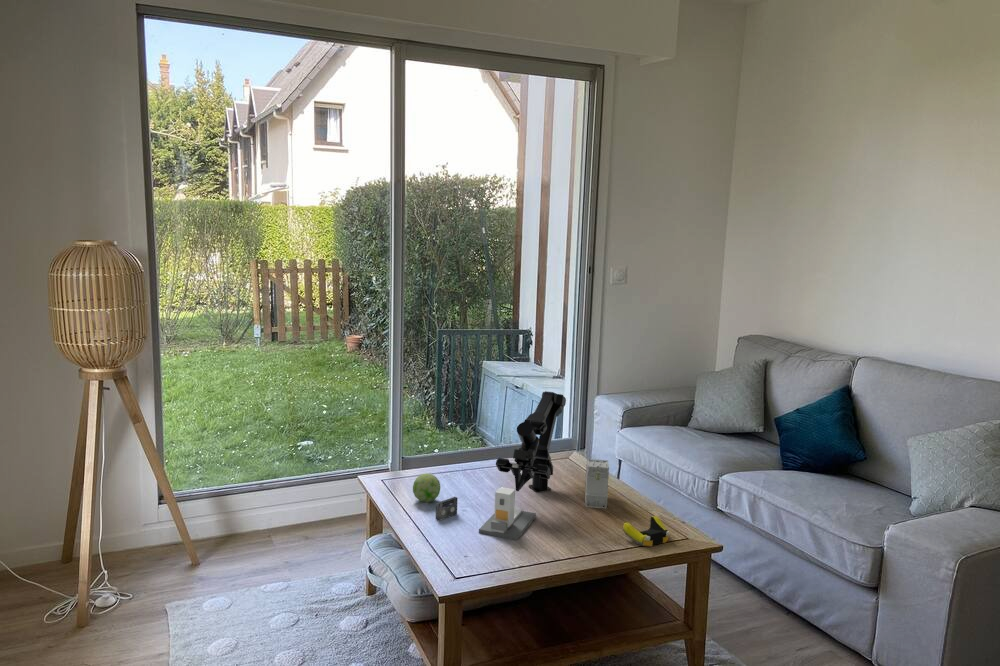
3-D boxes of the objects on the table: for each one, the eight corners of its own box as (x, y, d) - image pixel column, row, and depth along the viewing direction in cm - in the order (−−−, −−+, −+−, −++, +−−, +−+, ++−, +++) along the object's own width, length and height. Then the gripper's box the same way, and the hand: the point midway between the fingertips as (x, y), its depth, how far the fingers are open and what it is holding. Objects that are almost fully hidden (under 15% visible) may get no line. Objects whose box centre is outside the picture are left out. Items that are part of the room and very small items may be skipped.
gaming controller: (619, 538, 231) (640, 551, 223) (620, 522, 230) (641, 534, 222) (654, 529, 239) (675, 541, 230) (655, 513, 238) (677, 525, 230)
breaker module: (499, 520, 237) (500, 487, 236) (513, 523, 236) (515, 489, 234) (493, 527, 232) (494, 493, 230) (507, 530, 230) (509, 495, 229)
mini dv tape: (454, 512, 247) (454, 496, 246) (457, 514, 245) (457, 497, 245) (435, 519, 241) (436, 502, 240) (438, 520, 240) (438, 503, 239)
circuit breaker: (604, 493, 269) (607, 454, 266) (606, 508, 255) (609, 467, 252) (584, 492, 269) (586, 453, 267) (585, 506, 255) (587, 466, 253)
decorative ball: (443, 504, 253) (444, 477, 251) (416, 508, 249) (416, 480, 248) (435, 494, 262) (436, 468, 260) (409, 497, 258) (409, 470, 257)
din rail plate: (500, 510, 250) (500, 498, 249) (535, 516, 246) (536, 504, 245) (478, 532, 231) (479, 519, 231) (517, 540, 227) (517, 526, 226)
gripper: (498, 435, 250) (485, 476, 242) (549, 442, 244) (539, 484, 235) (505, 450, 259) (493, 490, 250) (555, 458, 252) (544, 499, 244)
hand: (517, 490), depth 245 cm, fingers closed
